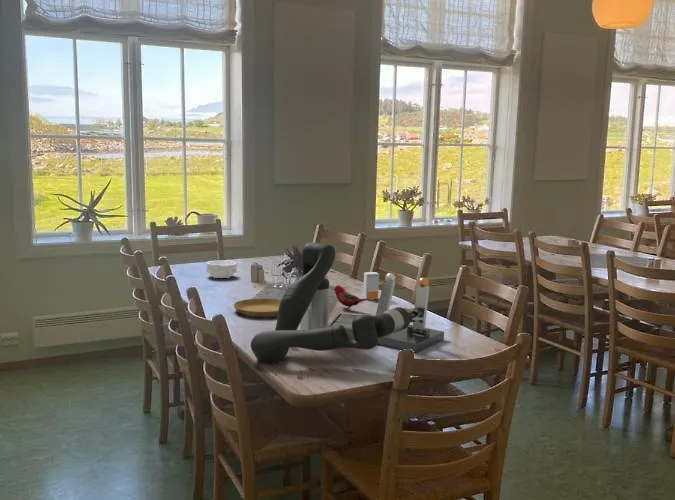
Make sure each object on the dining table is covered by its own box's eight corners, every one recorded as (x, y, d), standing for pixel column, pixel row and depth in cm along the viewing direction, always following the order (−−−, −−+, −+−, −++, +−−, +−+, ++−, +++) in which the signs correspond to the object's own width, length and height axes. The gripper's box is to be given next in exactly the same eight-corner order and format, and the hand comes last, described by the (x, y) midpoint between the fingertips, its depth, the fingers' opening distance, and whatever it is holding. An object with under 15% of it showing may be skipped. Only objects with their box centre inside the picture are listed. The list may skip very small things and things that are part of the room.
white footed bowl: (242, 277, 335) (242, 262, 333) (222, 281, 322) (222, 266, 321) (220, 273, 343) (220, 258, 341) (200, 277, 330) (200, 262, 329)
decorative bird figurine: (334, 306, 275) (334, 283, 274) (370, 312, 267) (371, 289, 265) (330, 308, 273) (331, 285, 271) (367, 314, 264) (368, 290, 263)
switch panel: (416, 353, 215) (416, 336, 214) (352, 338, 230) (352, 323, 229) (443, 339, 231) (444, 324, 230) (382, 326, 246) (383, 312, 245)
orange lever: (421, 336, 222) (428, 278, 221) (409, 333, 225) (415, 276, 224) (426, 335, 225) (433, 278, 224) (414, 332, 228) (420, 276, 227)
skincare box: (365, 300, 289) (366, 274, 287) (362, 298, 293) (363, 272, 291) (378, 299, 291) (379, 273, 289) (375, 297, 295) (376, 271, 293)
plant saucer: (249, 302, 280) (249, 295, 279) (301, 308, 273) (301, 300, 272) (223, 316, 257) (223, 308, 257) (278, 322, 250) (278, 314, 249)
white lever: (382, 326, 231) (395, 272, 234) (370, 324, 234) (383, 271, 237) (387, 328, 234) (399, 275, 237) (375, 325, 237) (388, 273, 240)
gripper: (376, 328, 214) (403, 317, 228) (410, 335, 207) (436, 324, 220) (376, 306, 213) (403, 296, 227) (411, 313, 205) (437, 302, 219)
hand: (419, 310), depth 224 cm, fingers closed
